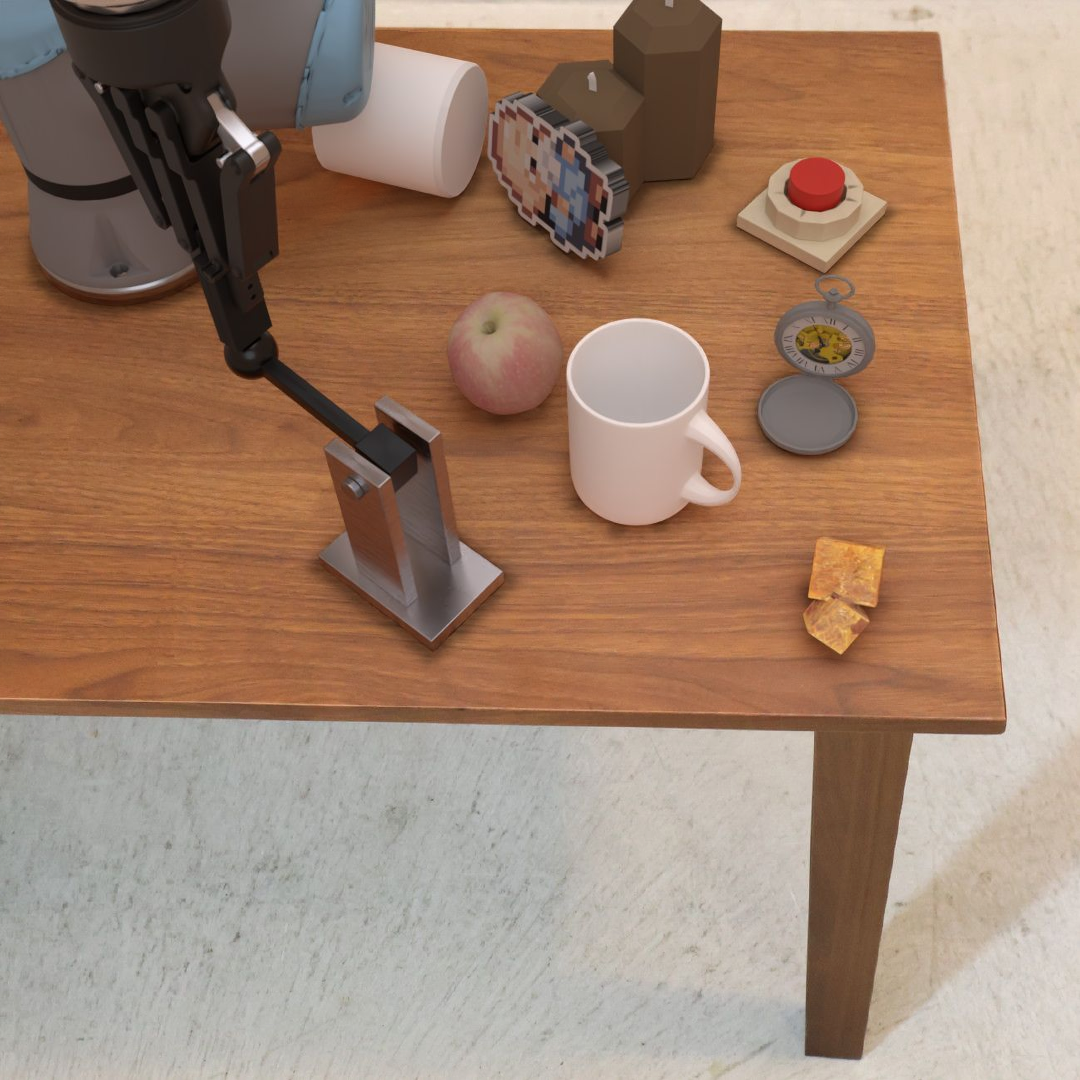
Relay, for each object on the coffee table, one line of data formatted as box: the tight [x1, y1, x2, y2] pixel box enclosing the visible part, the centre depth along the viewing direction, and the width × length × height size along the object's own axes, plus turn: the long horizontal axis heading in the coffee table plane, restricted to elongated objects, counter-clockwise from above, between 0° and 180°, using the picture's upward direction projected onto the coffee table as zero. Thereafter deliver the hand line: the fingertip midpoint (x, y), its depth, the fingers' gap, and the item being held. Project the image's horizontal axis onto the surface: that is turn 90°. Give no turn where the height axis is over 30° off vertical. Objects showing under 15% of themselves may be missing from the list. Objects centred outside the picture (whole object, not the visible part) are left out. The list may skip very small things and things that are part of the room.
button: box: [788, 156, 845, 212], centre depth 102 cm, size 4×4×2 cm
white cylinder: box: [311, 41, 490, 199], centre depth 107 cm, size 13×10×10 cm
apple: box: [446, 291, 565, 416], centre depth 94 cm, size 8×8×8 cm
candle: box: [535, 0, 723, 207], centre depth 104 cm, size 14×14×15 cm
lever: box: [223, 330, 418, 493], centre depth 81 cm, size 14×3×3 cm, turn 49°
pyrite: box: [802, 535, 888, 655], centre depth 84 cm, size 5×7×4 cm
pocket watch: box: [757, 274, 877, 456], centre depth 91 cm, size 8×8×10 cm
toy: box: [487, 90, 629, 262], centre depth 102 cm, size 14×2×10 cm, turn 39°
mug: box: [565, 317, 743, 526], centre depth 87 cm, size 9×12×11 cm
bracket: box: [317, 394, 505, 652], centre depth 83 cm, size 10×7×14 cm, turn 49°
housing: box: [735, 157, 888, 274], centre depth 104 cm, size 8×8×3 cm
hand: (246, 333), depth 80 cm, fingers closed
